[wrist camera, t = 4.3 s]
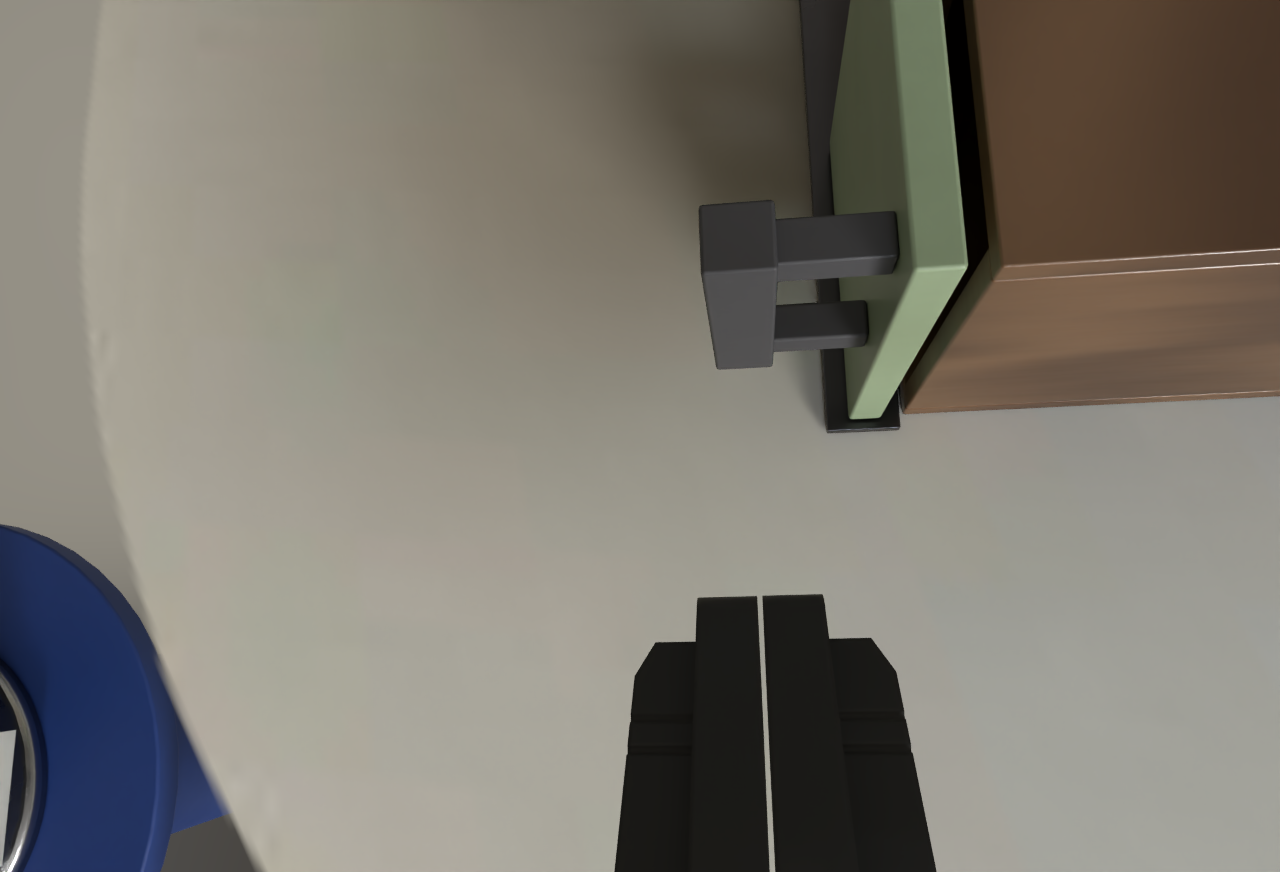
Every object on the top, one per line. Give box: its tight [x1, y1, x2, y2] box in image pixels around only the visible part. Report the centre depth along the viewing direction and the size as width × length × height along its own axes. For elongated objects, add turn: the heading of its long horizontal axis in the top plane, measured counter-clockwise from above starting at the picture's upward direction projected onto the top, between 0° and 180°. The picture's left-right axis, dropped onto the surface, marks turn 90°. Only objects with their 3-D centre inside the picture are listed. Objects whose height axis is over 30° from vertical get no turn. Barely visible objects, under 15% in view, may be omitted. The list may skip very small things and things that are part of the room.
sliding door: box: [699, 0, 968, 419], centre depth 19 cm, size 4×8×10 cm, turn 1°
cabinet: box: [799, 0, 1280, 433], centre depth 20 cm, size 13×15×10 cm
